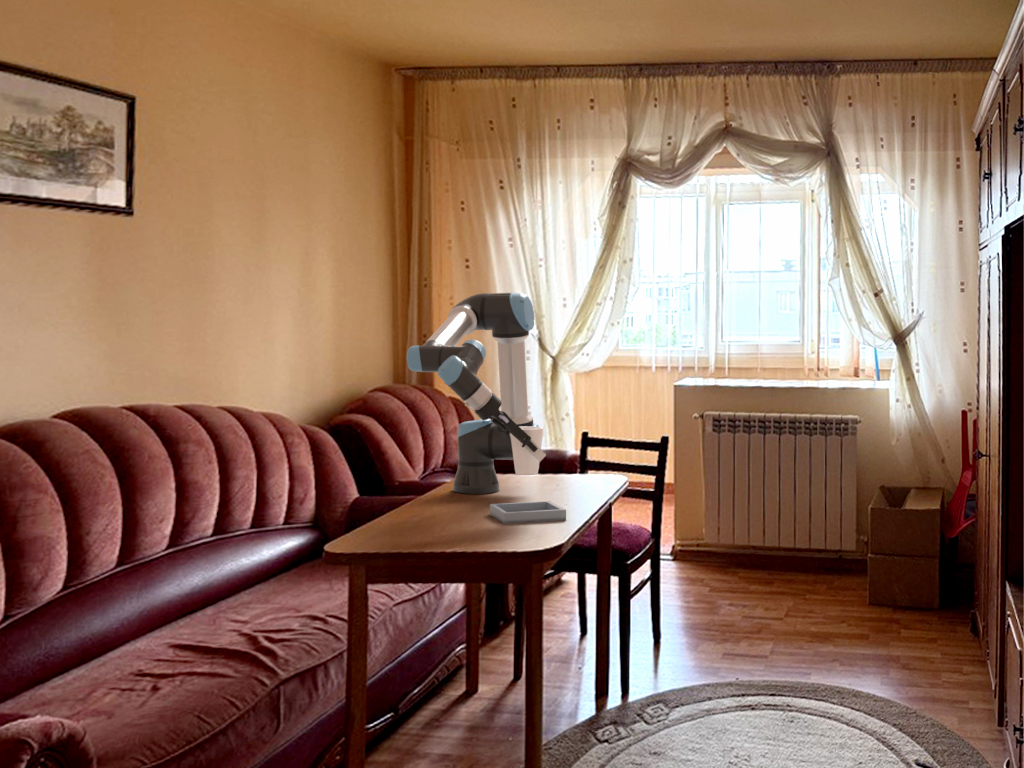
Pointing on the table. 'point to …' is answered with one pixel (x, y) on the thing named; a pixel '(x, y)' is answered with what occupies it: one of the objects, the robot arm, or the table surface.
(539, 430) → the foam cup
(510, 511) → the tray
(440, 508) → the table surface
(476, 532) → the table surface
